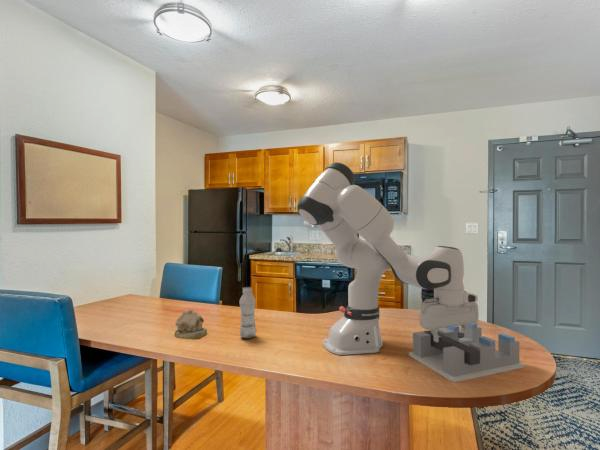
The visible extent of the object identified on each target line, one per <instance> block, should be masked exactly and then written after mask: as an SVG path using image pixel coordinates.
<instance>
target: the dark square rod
mask: <svg viewBox="0 0 600 450" xmlns="http://www.w3.org/2000/svg"><path fill="white" fill-rule="evenodd" d="M423 332H425V333H427V334H429V335H431V346H433V347H435V348H437V349H439V350H441V351H443V348H445V347H451V346H455V347H457V348H459V349H461V350H463V351H464V362H465V363H467V364H469V365H475V364H480V351H478V350H476V349H473V348H471V347H469V346H467V345H464V344H462V343H460V342H458V341H455V340H453V339H451V338H449V337H447V336H444V335H442V334H440V333H438V332H437V333H438V335H439V336H441V342H435V341H434V335H433V334H432V332H431V331H430V330H424V331H423Z"/></svg>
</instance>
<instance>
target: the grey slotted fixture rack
mask: <svg viewBox="0 0 600 450" xmlns="http://www.w3.org/2000/svg"><path fill="white" fill-rule="evenodd" d="M458 331H460V325H459V326H453V327H446V328H439V329H438V333H440V334H442V335H444V336H447V337H449V338H451V339H453V340H455V341H458V342H460V343H462V344H464V345H467V346H469V347H471V348H473V349H476V350H478V351H480V364H475V365H469V364H467V363H465V362H464V351H463V350H461V349H459V348H457V347H455V346H451V347H445V348H443V351H441V350H439V349H437V348H435V347H433V346H431V335H429V334H427V333H425V332H424V331H422V330H421V331H416V332H412V350H413V351H410V352H408V356H409V357H411V358H412V359H414V360H416V361H417V362H419V363H421V364H422V365H423V366H425V367H426V368H429V369H430V370H432V371H433V372H435V373H437V374H438V375H440V376H442V377H443V378H445V379H447V380H448V381H450V382H451V383H454V384H455V383H459V382H463V381H467V380H473V379H477V378H481V377H486V376H492V375H497V374H500V373H506V372H511V371H515V370H519V369H523V368H525V367H526V363H523V362H520V341H519V340H516V339H515V336H512V335H508V334H507V333H504V332H502V333H501V332H500V333H498V335H497V336H498V338H497V339H498V340H497V341H498V342H497V344H498V346H497V350H496V340H494V339H492V338H490V337H487V336H484V335H483V336H482V334H483V333H482V327H481V326H479V325H478V323H477V322H476V323H473V324H468V329H467V331H466V333H465V338H459V337H458Z"/></svg>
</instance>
